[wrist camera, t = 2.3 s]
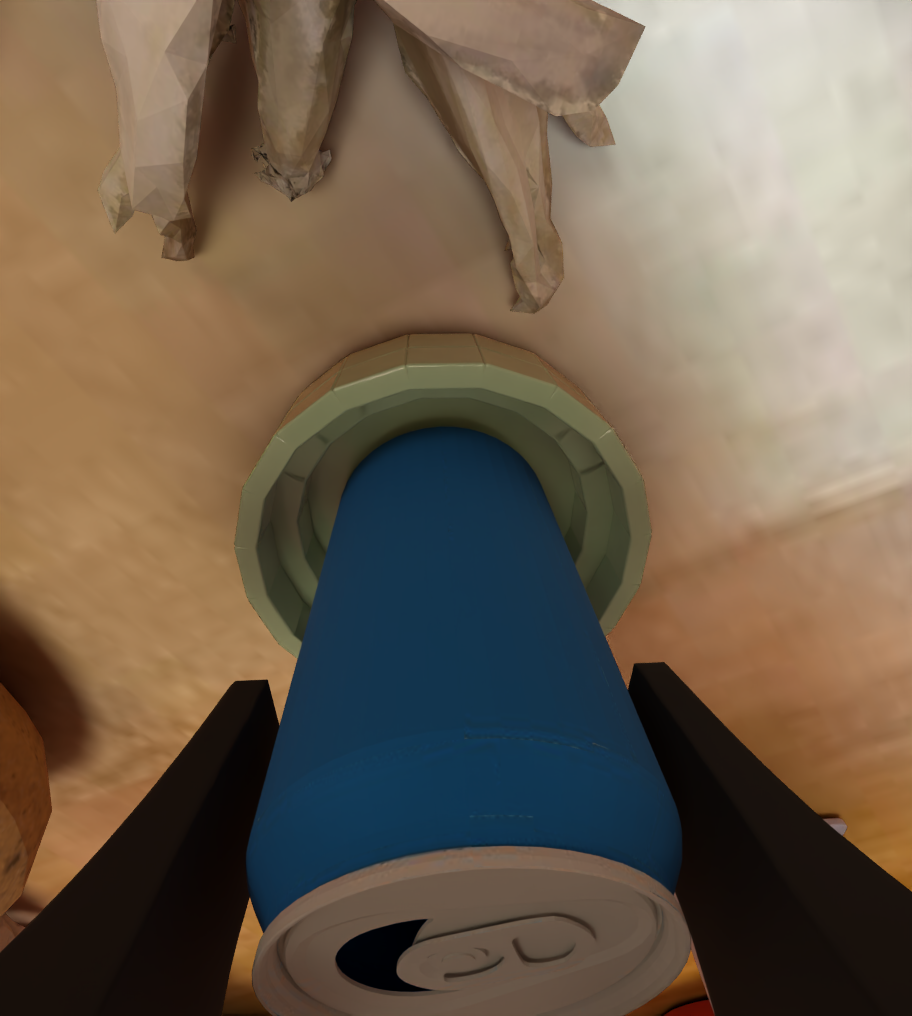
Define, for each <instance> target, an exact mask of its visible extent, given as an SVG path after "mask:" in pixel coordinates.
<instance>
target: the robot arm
mask: <svg viewBox="0 0 912 1016" xmlns="http://www.w3.org/2000/svg"><path fill="white" fill-rule="evenodd" d="M628 692H629V695H630V697H631V700H632V702H633V704H634V707H635V709H636V711H637V714H638V716H639V719H640V721H641V723H642V726H643V728H644V730H645V733H646V735H647V738H648V740H649V742H650V745H651V747H652V750H653V752H654V754H655V757H656V759H657V761H658V764H659V766H660V769H661V771H662V773H663V776H664V778H665V780H666V783H667V785H668V788H669V790H670V792H671V795H672V797H673V800H674V802H675V804H676V807H677V810H678V814H679V818H680V822H681V828H682V863H681V869H680V873H679V877H678V881H677V885H676V889H675V893H674V897H675V899H676V900H677V902H678V903H679V905H680V906H681V909H682V912H683V914H684V917H685V920H686V923H687V925H688V929H689V932H690V935H691V951H692V953H693V956H694V959H695V962H696V965H697V967H698V970H699V973H700V976H701V979H702V981H703V984H704V987H705V990H706V992H707V995H708V998H709V1001H710V1004H711V1006H712V1009H713V1012H714V1015H715V1016H912V892H911V891H910V890H909V889H908V888H906V887H905V886H904V885H902V884H901V883H900V882H899V881H897V880H896V879H895V878H893V877H892V876H891V875H890V874H888V873H887V872H886V871H885V870H883V869H882V868H881V867H880V866H878V865H877V864H876V863H875V862H874V861H872V860H871V859H870V858H869V857H867V856H866V855H865V854H864V853H863V852H861V851H860V850H859V849H858V848H857V847H855V846H854V845H853V844H852V843H850V842H849V841H848V840H847V839H846V838H844V837H843V834H844V833H845V831H846V829H847V825H846V824H845V822H844V821H843V820H842V819H840V818H828V819H822V818H821V817H820V816H819V815H818V814H817V813H815V812H814V811H813V810H812V809H811V808H810V807H809V806H808V805H807V804H806V803H804V802H803V801H802V800H801V799H800V798H799V797H798V796H797V795H796V794H795V793H794V792H792V791H791V790H790V789H789V788H788V787H787V786H786V785H785V784H784V783H783V782H782V781H781V780H780V779H778V778H777V777H776V776H775V775H774V774H773V773H772V772H771V771H770V770H769V769H768V768H767V767H766V766H765V765H764V764H763V763H762V762H761V761H760V760H759V759H758V758H757V757H756V756H755V755H754V754H753V753H752V752H751V751H750V750H749V749H748V748H747V747H746V746H745V745H744V744H743V743H742V742H741V741H740V740H739V739H738V738H737V737H736V736H735V735H734V734H733V733H732V732H731V731H730V730H729V729H728V728H727V727H726V726H725V725H724V724H723V723H722V722H721V721H720V720H719V719H718V718H717V717H716V716H715V715H714V714H713V713H712V712H711V711H710V710H709V709H708V708H707V706H706V705H705V704H704V703H703V702H702V701H701V700H700V699H699V698H698V697H697V696H696V695H695V694H694V693H693V692H692V691H691V690H690V689H689V687H688V686H687V685H686V684H685V683H684V682H683V681H682V680H681V679H680V678H679V677H678V676H677V675H676V674H675V673H674V672H673V671H672V670H671V669H670V668H669V666H668V665H667V664H666V663H665V662H658V663H635V664H634V667H633V671H632V675H631V679H630V684H629V688H628ZM278 730H279V722H278V718H277V714H276V711H275V707H274V703H273V699H272V695H271V691H270V687H269V683H268V680H248V681H235V682H234V683H233V684H232V685H231V686H230V687H229V689H228V690H227V691H226V693H225V694H224V695H223V697H222V698H221V700H220V701H219V702H218V704H217V705H216V706H215V708H214V709H213V710H212V712H211V713H210V714H209V716H208V717H207V719H206V720H205V721H204V723H203V724H202V725H201V727H200V728H199V729H198V731H197V732H196V733H195V734H194V736H193V737H192V738H191V740H190V741H189V742H188V744H187V745H186V746H185V748H184V749H183V750H182V751H181V753H180V754H179V755H178V756H177V758H176V759H175V760H174V761H173V763H172V764H171V765H170V767H169V768H168V769H167V770H166V772H165V773H164V774H163V775H162V777H161V778H160V779H159V780H158V782H157V783H156V784H155V785H154V787H153V788H152V789H151V790H150V792H149V793H148V794H147V795H146V796H145V798H144V799H143V800H142V801H141V802H140V803H139V805H138V806H137V807H136V808H135V809H134V810H133V812H132V813H131V814H130V815H129V816H128V817H127V819H126V820H125V821H124V822H123V823H122V824H121V826H120V827H119V828H118V829H117V830H116V831H115V832H114V834H113V835H112V836H111V837H110V838H109V839H108V841H107V842H106V843H105V844H104V845H103V846H102V847H101V849H100V850H99V851H98V852H97V853H96V854H95V855H94V856H93V857H92V858H91V860H90V861H89V862H88V863H87V864H86V865H85V866H84V867H83V868H82V869H81V871H80V872H79V873H78V874H77V875H76V876H75V877H74V878H73V879H72V880H71V881H70V882H69V883H68V884H67V885H66V886H65V888H64V889H63V890H62V891H61V892H60V893H59V894H58V895H57V896H56V897H55V898H54V899H53V900H52V901H51V902H50V903H49V904H48V905H47V906H46V907H45V908H44V909H43V910H42V911H41V912H40V913H39V914H38V915H37V916H36V917H35V918H34V919H33V920H32V921H31V922H30V923H29V924H28V925H27V926H26V927H25V928H24V929H23V930H22V931H21V932H20V933H19V934H18V935H17V936H16V937H15V938H14V939H13V940H12V941H11V942H10V943H9V944H8V945H7V946H6V947H5V948H4V949H3V950H2V951H1V952H0V1016H221V1015H222V1010H223V1004H224V999H225V994H226V989H227V984H228V979H229V974H230V969H231V965H232V961H233V957H234V953H235V949H236V945H237V941H238V937H239V933H240V930H241V926H242V922H243V919H244V915H245V912H246V908H247V905H248V901H249V897H250V895H249V892H248V886H247V877H246V852H247V847H248V842H249V838H250V834H251V830H252V826H253V823H254V819H255V815H256V812H257V808H258V804H259V800H260V797H261V793H262V789H263V786H264V782H265V778H266V774H267V771H268V767H269V763H270V760H271V756H272V752H273V748H274V745H275V741H276V737H277V734H278Z"/></svg>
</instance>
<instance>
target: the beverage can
mask: <svg viewBox="0 0 912 1016" xmlns="http://www.w3.org/2000/svg"><path fill="white" fill-rule="evenodd" d="M681 863H682V828H681V822H680V818H679V814H678V810H677V807H676V804H675V802H674V800H673V797H672V795H671V792H670V790H669V788H668V785H667V783H666V780H665V778H664V776H663V773H662V771H661V769H660V766H659V764H658V761H657V759H656V757H655V754H654V752H653V750H652V747H651V745H650V742H649V740H648V738H647V735H646V733H645V730H644V728H643V726H642V723H641V721H640V719H639V716H638V714H637V711H636V709H635V707H634V704H633V702H632V700H631V697H630V695H629V692H628V690H627V688H626V685H625V683H624V681H623V678H622V676H621V673H620V671H619V669H618V666H617V664H616V661H615V659H614V657H613V654H612V652H611V650H610V647H609V645H608V642H607V640H606V638H605V635H604V633H603V631H602V628H601V626H600V623H599V621H598V619H597V616H596V614H595V611H594V609H593V607H592V604H591V602H590V600H589V597H588V595H587V592H586V590H585V588H584V585H583V583H582V581H581V578H580V576H579V573H578V571H577V569H576V566H575V564H574V561H573V559H572V557H571V554H570V552H569V550H568V547H567V545H566V542H565V540H564V538H563V535H562V533H561V531H560V528H559V526H558V523H557V521H556V519H555V516H554V514H553V511H552V509H551V507H550V504H549V502H548V500H547V497H546V495H545V492H544V490H543V488H542V485H541V483H540V481H539V479H538V477H537V475H536V473H535V472H534V470H533V469H532V468H531V466H530V465H529V463H528V462H527V461H526V460H525V459H524V458H523V457H522V456H521V455H520V454H519V453H518V452H517V451H515V450H514V449H513V448H512V447H510V446H509V445H507V444H506V443H504V442H502V441H501V440H499V439H497V438H495V437H493V436H490V435H488V434H486V433H483V432H480V431H476V430H472V429H469V428H462V427H455V426H437V427H428V428H422V429H417V430H413V431H409V432H407V433H404V434H401V435H399V436H396V437H394V438H392V439H390V440H388V441H387V442H385V443H383V444H382V445H380V446H379V447H377V448H376V449H375V450H373V451H372V452H371V453H370V454H369V455H368V456H366V457H365V458H364V459H363V460H362V461H361V462H360V464H359V465H358V466H357V467H356V469H355V470H354V471H353V473H352V474H351V476H350V478H349V480H348V481H347V483H346V486H345V488H344V491H343V493H342V496H341V500H340V504H339V508H338V511H337V515H336V519H335V522H334V526H333V530H332V533H331V537H330V541H329V545H328V548H327V552H326V556H325V559H324V563H323V567H322V571H321V574H320V578H319V582H318V585H317V589H316V593H315V597H314V600H313V604H312V608H311V611H310V615H309V619H308V622H307V626H306V630H305V634H304V637H303V641H302V645H301V648H300V652H299V656H298V660H297V663H296V667H295V671H294V674H293V678H292V682H291V685H290V689H289V693H288V697H287V700H286V704H285V708H284V711H283V715H282V719H281V723H280V726H279V730H278V734H277V737H276V741H275V745H274V748H273V752H272V756H271V760H270V763H269V767H268V771H267V774H266V778H265V782H264V786H263V789H262V793H261V797H260V800H259V804H258V808H257V812H256V815H255V819H254V823H253V826H252V830H251V834H250V838H249V842H248V847H247V852H246V877H247V886H248V892H249V895H250V898H251V902H252V905H253V908H254V911H255V914H256V916H257V919H258V921H259V923H260V926H261V928H262V931H263V933H264V934H263V936H262V937H261V939H260V942H259V945H258V949H257V952H256V956H255V960H254V964H253V969H252V985H253V988H254V991H255V994H256V996H257V998H258V999H259V1001H260V1002H261V1004H262V1005H263V1006H264V1008H265V1009H266V1010H267V1011H268V1012H269V1013H270V1014H271V1015H273V1016H624V1015H626V1014H628V1013H630V1012H632V1011H634V1010H635V1009H637V1008H639V1007H641V1006H643V1005H644V1004H646V1003H647V1002H649V1001H650V1000H652V999H653V998H655V997H656V996H657V995H659V994H660V993H661V992H662V991H663V990H665V989H666V988H667V987H668V986H669V985H670V984H671V983H672V982H673V981H674V980H675V979H676V978H677V976H678V975H679V974H680V972H681V971H682V969H683V968H684V966H685V964H686V963H687V960H688V957H689V954H690V950H691V935H690V932H689V929H688V925H687V923H686V920H685V917H684V914H683V912H682V909H681V906H680V905H679V903H678V902H677V900H676V899H675V897H674V893H675V889H676V885H677V881H678V877H679V873H680V869H681Z"/></svg>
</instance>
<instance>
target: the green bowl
mask: <svg viewBox="0 0 912 1016" xmlns="http://www.w3.org/2000/svg"><path fill="white" fill-rule="evenodd" d="M437 426H455V427H462V428H469V429H472V430H476V431H480V432H483V433H486V434H488V435H490V436H493V437H495V438H497V439H499V440H501V441H502V442H504V443H506V444H507V445H509V446H510V447H512V448H513V449H514V450H515V451H517V452H518V453H519V454H520V455H521V456H522V457H523V458H524V459H525V460H526V461H527V462H528V463H529V465H530V466H531V468H532V469H533V470H534V472H535V473H536V475H537V477H538V479H539V481H540V483H541V485H542V488H543V490H544V492H545V495H546V497H547V500H548V502H549V504H550V507H551V509H552V511H553V514H554V516H555V519H556V521H557V523H558V526H559V528H560V531H561V533H562V535H563V538H564V540H565V542H566V545H567V547H568V550H569V552H570V554H571V557H572V559H573V561H574V564H575V566H576V569H577V571H578V573H579V576H580V578H581V581H582V583H583V585H584V588H585V590H586V592H587V595H588V597H589V600H590V602H591V604H592V607H593V609H594V611H595V614H596V616H597V619H598V621H599V623H600V626H601V628H602V631H603V633H604V635H605V636H606V635H608V634H609V633H610V632H611V631H612V629H614V627H615V626H616V624H617V623H618V621H619V619H620V618H621V616H622V614H623V613H624V611H625V610H626V608H627V606H628V605H629V603H630V602H631V600H632V598H633V597H634V595H635V593H636V592H637V590H638V589H639V587H640V584H641V581H642V576H643V572H644V567H645V563H646V558H647V554H648V549H649V545H650V540H651V536H652V535H651V533H652V529H651V523H650V516H649V510H648V504H647V497H646V491H645V485H644V480H643V479H642V475H641V474H640V472H639V470H638V469H637V467H636V465H635V464H634V462H633V460H632V459H631V457H630V455H629V454H628V452H627V451H626V449H625V447H624V446H623V444H622V442H621V441H620V439H619V437H618V436H617V434H616V433H615V431H614V429H613V428H612V427H611V425H610V424H609V423H608V422H607V421H606V420H605V418H604V417H603V416H602V415H601V414H600V412H599V411H598V410H597V409H596V408H595V406H594V405H593V404H592V403H591V402H590V400H589V399H588V398H587V397H586V396H585V394H584V393H583V392H582V391H581V390H580V389H579V387H577V386H576V385H575V384H573V383H572V382H571V381H570V380H568V379H567V378H566V377H564V376H563V375H562V374H560V373H559V372H558V371H557V370H555V369H554V368H553V367H551V366H550V365H549V364H548V363H546V362H545V361H544V360H542V359H541V358H540V357H538V356H537V355H536V354H533V353H532V352H529V351H526V350H523V349H520V348H517V347H514V346H511V345H508V344H505V343H502V342H499V341H496V340H493V339H490V338H487V337H484V336H481V335H477V334H474V335H473V334H471V333H466V334H410V335H404V336H401V337H398V338H395V339H392V340H390V341H387V342H384V343H381V344H378V345H375V346H372V347H370V348H367V349H364V350H361V351H358V352H355V353H352V354H350V355H348V357H345V358H344V359H342V360H341V361H340V362H339V363H337V364H336V365H335V366H334V367H332V368H331V369H330V370H329V371H327V372H326V373H325V374H324V375H322V376H321V377H320V378H319V379H317V380H316V381H315V382H314V383H312V384H311V385H310V386H309V387H307V388H306V389H305V390H304V391H302V393H301V394H300V395H299V396H298V397H297V399H296V401H295V402H294V404H293V405H292V407H291V409H290V410H289V412H288V413H287V415H286V416H285V418H284V420H283V421H282V423H281V424H280V426H279V428H278V429H277V431H276V432H275V434H274V436H273V437H272V439H271V441H270V442H269V444H268V446H267V447H266V449H265V451H264V452H263V454H262V456H261V457H260V459H259V461H258V462H257V464H256V466H255V467H254V469H253V471H252V472H251V474H250V476H249V477H248V479H247V481H246V483H245V484H244V486H243V490H242V492H241V499H240V506H239V513H238V520H237V527H236V534H235V541H234V545H235V547H234V548H235V552H236V556H237V560H238V564H239V568H240V572H241V576H242V580H243V584H244V588H245V592H246V596H247V598H248V600H249V602H250V604H251V605H252V607H253V608H254V609H255V611H256V612H257V614H258V615H259V617H260V618H261V620H262V621H263V622H264V624H265V625H266V627H267V628H268V630H269V631H270V633H271V634H272V636H273V637H274V638H275V640H276V641H277V642H278V644H279V645H280V646H282V647H283V648H284V649H286V650H287V651H288V652H289V653H291V654H292V655H293V656H295V657H296V658H297V659H298V656H299V652H300V648H301V645H302V641H303V637H304V634H305V630H306V626H307V622H308V619H309V615H310V611H311V608H312V604H313V600H314V597H315V593H316V589H317V585H318V582H319V578H320V574H321V571H322V567H323V563H324V559H325V556H326V552H327V548H328V545H329V541H330V537H331V533H332V530H333V526H334V522H335V519H336V515H337V511H338V508H339V504H340V500H341V496H342V493H343V491H344V488H345V486H346V483H347V481H348V480H349V478H350V476H351V474H352V473H353V471H354V470H355V469H356V467H357V466H358V465H359V464H360V462H361V461H362V460H363V459H364V458H365V457H366V456H368V455H369V454H370V453H371V452H372V451H373V450H375V449H376V448H377V447H379V446H380V445H382V444H383V443H385V442H387V441H388V440H390V439H392V438H394V437H396V436H399V435H401V434H404V433H407V432H409V431H413V430H417V429H422V428H428V427H437Z"/></svg>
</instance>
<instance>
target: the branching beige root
mask: <svg viewBox="0 0 912 1016" xmlns="http://www.w3.org/2000/svg"><path fill="white" fill-rule="evenodd" d="M356 1H357V0H238V3H239V5H240V8H241V10H242V13H243V16H244V18H245V21H246V24H247V31H248V38H249V45H250V53H251V57H252V61H253V64H254V68H255V71H256V74H257V78H258V81H259V88H258V112H259V117H260V122H261V127H262V132H263V137H264V142H265V144H261V145H260V147H259V146H258V147H257V148H251V156H252V157H253V158H254V159H255V160H256V161H257V162H258V160H259V158H260V157H261V155H262V156H263V158H264V159H265V160H266V161H267V162H268V164H269V165H268V166H267V168H266V166H265V165H264V163H263V162H262V163H263V167H264V169H265V170H263V171H261V172H258V173H254V174H256V175H257V176H258V178H259V179H260V180H261V181H263V182H265V183H267V184H269V185H271V186H272V187H274V188H276V189H277V190H279V191H280V192H282V193H283V194H285V195H286V196H287V197H288V198H289V199H290V198H291V199H290V201H291V202H292V201H293V200H294V199H295V198H298V197H300V196H301V195H303V194H305V193H307V192H309V191H311V189H312V188H313V186H314V185H315V183H317V182H318V181H319V180H320V179H321V178H323V177H324V175H323V172H324V170H325V169H326V167H327V166H328V164H329V163H330V161H331V160H332V158H331V153H330V150H327V151H325V152H321V151H320V150H319V148H320V146H321V143H322V141H323V139H324V137H325V134H326V131H327V128H328V125H329V122H330V119H331V116H332V113H333V110H334V107H335V104H336V101H337V97H338V93H339V89H340V85H341V80H342V76H343V72H344V68H345V63H346V59H347V55H348V51H349V47H350V43H351V40H352V36H353V19H354V5H355V3H356ZM374 1H375V2H376V3H377V5H378V6H379V7H380V8H381V9H382V10H383V11H384V13H385V14H386V15H387V16H388V17H389V18H390V19H391V21H392V22H393V24H394V29H395V33H396V38H397V42H398V46H399V51H400V54H401V58H402V62H403V66H404V70H405V73H406V74H407V75H408V76H409V77H410V79H411V80H412V81H413V82H414V83H415V84H416V86H417V87H418V88H419V89H420V90H421V92H422V93H423V94H424V95H425V96H426V97H427V99H428V100H429V101H430V103H431V105H432V107H433V108H434V110H435V112H436V114H437V115H438V117H439V118H440V120H441V122H442V123H443V125H444V126H445V128H446V129H447V131H448V133H449V134H450V136H451V138H452V140H453V142H454V144H455V146H456V148H457V150H458V151H459V152H460V153H461V155H462V156H463V157H464V158H465V160H466V161H467V162H468V163H469V165H470V166H471V167H472V168H473V169H474V170H475V171H476V172H477V173H478V174H479V176H480V177H481V178H482V179H483V180H484V181H485V183H486V185H487V187H488V189H489V191H490V193H491V195H492V197H493V199H494V202H495V205H496V208H497V211H498V214H499V217H500V220H501V222H502V224H503V226H504V228H505V230H506V231H507V233H508V235H509V241H508V243H507V246H506V249H505V250H510V249H511V250H512V251H513V255H514V257H513V259H512V261H511V263H510V266H511V270H512V275H513V279H514V283H515V287H516V290H517V292H518V294H519V295H520V297H519V299H518V300H517V302H516V303H515V304H514V306H513V307H512V309H511V310H510V311H516V312H524V313H533V314H535V313H536V312H537V311H539V310H540V309H542V308H543V307H545V306H546V305H547V304H548V302H549V301H550V299H551V298H552V296H553V294H554V293H555V291H556V290H557V288H558V286H559V285H560V283H561V282H562V280H563V278H564V271H563V249H562V242H561V240H560V238H559V235H558V233H557V231H556V229H555V227H554V225H553V223H552V221H551V219H550V213H551V194H552V177H551V168H550V159H549V150H548V141H547V121H548V113H550V114H552V115H554V116H561V115H562V116H563V118H564V119H565V121H566V122H567V124H568V125H569V127H570V128H571V130H572V131H573V133H574V134H575V135H576V137H578V138H579V139H580V140H582V141H583V142H584V143H586V144H587V145H588V146H590V147H593V146H604V145H614V144H615V141H614V138H613V135H612V132H611V129H610V126H609V124H608V121H607V118H606V116H605V114H604V112H603V111H602V109H601V107H600V105H599V104H600V103H601V102H602V101H603V100H604V99H605V98H606V97H607V96H608V95H609V94H610V93H611V92H612V91H613V90H614V89H615V88H616V87H617V85H618V84H619V82H620V80H621V78H622V76H623V73H624V71H625V69H626V67H627V65H628V63H629V61H630V59H631V57H632V54H633V52H634V50H635V48H636V46H637V44H638V42H639V39H640V37H641V35H642V33H643V31H644V29H645V26H643V25H641V24H639V23H637V22H635V21H633V20H631V19H629V18H627V17H625V16H623V15H621V14H619V13H617V12H615V11H613V10H611V9H608V8H606V7H604V6H602V5H600V4H598V3H596V2H594V1H592V0H374ZM96 3H97V11H98V19H99V27H100V35H101V41H102V44H103V47H104V50H105V54H106V57H107V60H108V64H109V67H110V70H111V73H112V77H113V80H114V83H115V87H116V93H117V108H118V123H119V139H120V147H119V148H118V150H117V151H116V153H115V154H114V156H113V157H112V159H111V160H110V162H109V163H108V165H107V166H106V168H105V169H104V172H103V175H102V178H101V181H100V184H99V187H98V193H99V195H100V198H101V200H102V203H103V206H104V208H105V211H106V213H107V216H108V218H109V221H110V223H111V226H112V229H113V231H114V234H115V233H116V232H117V231H118V230H119V229H120V228H121V227H122V226H123V225H124V224H125V223H126V222H127V221H128V220H129V219H130V218H131V217H132V215H133V213H134V210H137V211H140V212H144V213H148V214H151V215H152V217H153V220H154V222H155V224H156V227H157V229H158V232H159V234H160V235H164V236H165V240H164V246H163V252H162V258H166V259H170V260H175V261H186V260H190V259H192V258H194V252H193V244H194V240H195V236H196V232H197V229H196V225H195V221H194V217H193V213H192V209H191V205H190V201H189V197H188V193H187V187H188V184H189V181H190V178H191V175H192V171H193V168H194V165H195V162H196V159H197V152H198V143H199V134H200V125H201V116H202V107H203V98H204V89H205V80H206V71H207V67H208V64H209V61H210V59H211V56H212V54H213V53H214V51H215V50H216V48H217V47H218V45H219V44H220V42H221V41H227V42H232V43H236V37H235V25H231V26H230V22H231V17H232V13H233V8H234V3H235V0H96ZM252 149H253V150H255V151H256V152H258V153H259V154H261V155H255V156H254V153H253V150H252ZM271 175H272V176H271Z"/></svg>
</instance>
